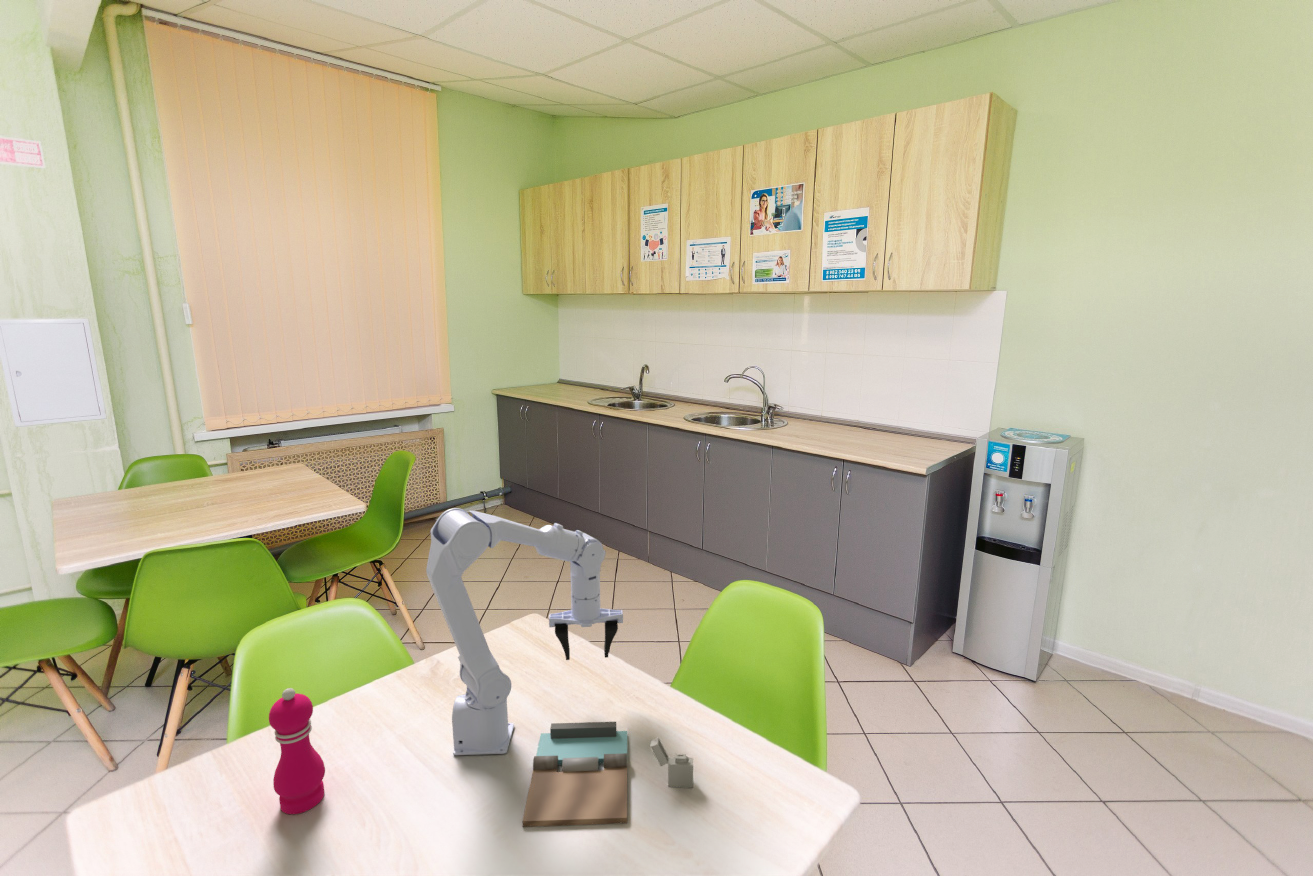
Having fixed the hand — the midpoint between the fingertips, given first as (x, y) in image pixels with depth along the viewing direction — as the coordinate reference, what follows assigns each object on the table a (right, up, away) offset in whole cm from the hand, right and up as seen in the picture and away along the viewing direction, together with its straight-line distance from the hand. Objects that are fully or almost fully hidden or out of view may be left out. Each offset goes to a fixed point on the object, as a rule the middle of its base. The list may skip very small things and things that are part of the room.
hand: (587, 656), depth 125 cm
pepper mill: (-43, -15, -24) cm, 52 cm away
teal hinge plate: (+1, -13, -14) cm, 19 cm away
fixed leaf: (+1, -14, -23) cm, 27 cm away
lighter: (+17, -14, -21) cm, 30 cm away
